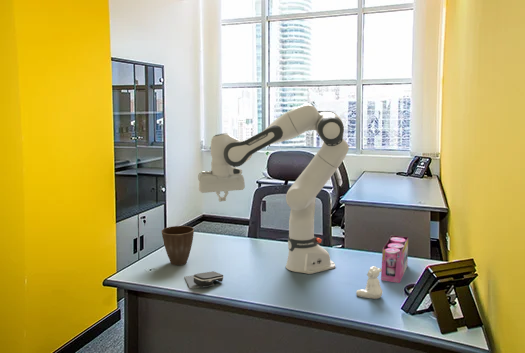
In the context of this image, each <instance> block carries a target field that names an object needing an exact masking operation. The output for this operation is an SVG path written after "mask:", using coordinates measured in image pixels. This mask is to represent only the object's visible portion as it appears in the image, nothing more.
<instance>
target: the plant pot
mask: <svg viewBox="0 0 525 353" xmlns="http://www.w3.org/2000/svg"><path fill="white" fill-rule="evenodd" d="M194 232H195V228H194V227H192V226H187V225H175V226H169V227H164V228H162V230H161V236H162V241H163V245H164V249H165V251H166V252H165V253H166V254H167V257H168V259H169V261H170V263H171V265H172V266H183V265H186V264H187V263H188V260H189V258H190V252H191V250H192V245H193V240H194Z"/></svg>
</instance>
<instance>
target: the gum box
mask: <svg viewBox="0 0 525 353" xmlns="http://www.w3.org/2000/svg"><path fill="white" fill-rule="evenodd" d="M381 253H382V256H381V269H382V270H381V272H380V274H381V276H380V280H381V281H386V282H392V283H399V284H400V283H401V281H402V279H403V276H404V274H405V272H406V271H407V268H408V263H409V262H408V260H409V258H408V256H409V254H408V253H409V237H408V236H402V235H390V237H389V238H388V240H387V242H386V243H385V244H384V246H383V248H382V252H381Z"/></svg>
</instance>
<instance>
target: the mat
mask: <svg viewBox="0 0 525 353" xmlns="http://www.w3.org/2000/svg"><path fill="white" fill-rule="evenodd" d="M194 275H195V274H193V275H187V276H186V275H185V276H184V280H185V282H186V284H187V286H188V288H189V290H193V289H201V288H207V287H214V286H215V283H214V281H213V282H212V285H210V286H200V285H197V284H195V283H194Z"/></svg>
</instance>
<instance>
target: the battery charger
mask: <svg viewBox="0 0 525 353" xmlns="http://www.w3.org/2000/svg"><path fill="white" fill-rule="evenodd" d="M193 275H194V283H195V284H197V285H200V286H208V287H211V286H210V285H212V282H213V283H214V281H217V282H220V283H222V282H223V281H224V275H223V274H222V273H221V272H220V273H219V272H216V271H215V270H214V271H206V272H201V273H199V272H198V273H195V274H193Z"/></svg>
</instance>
